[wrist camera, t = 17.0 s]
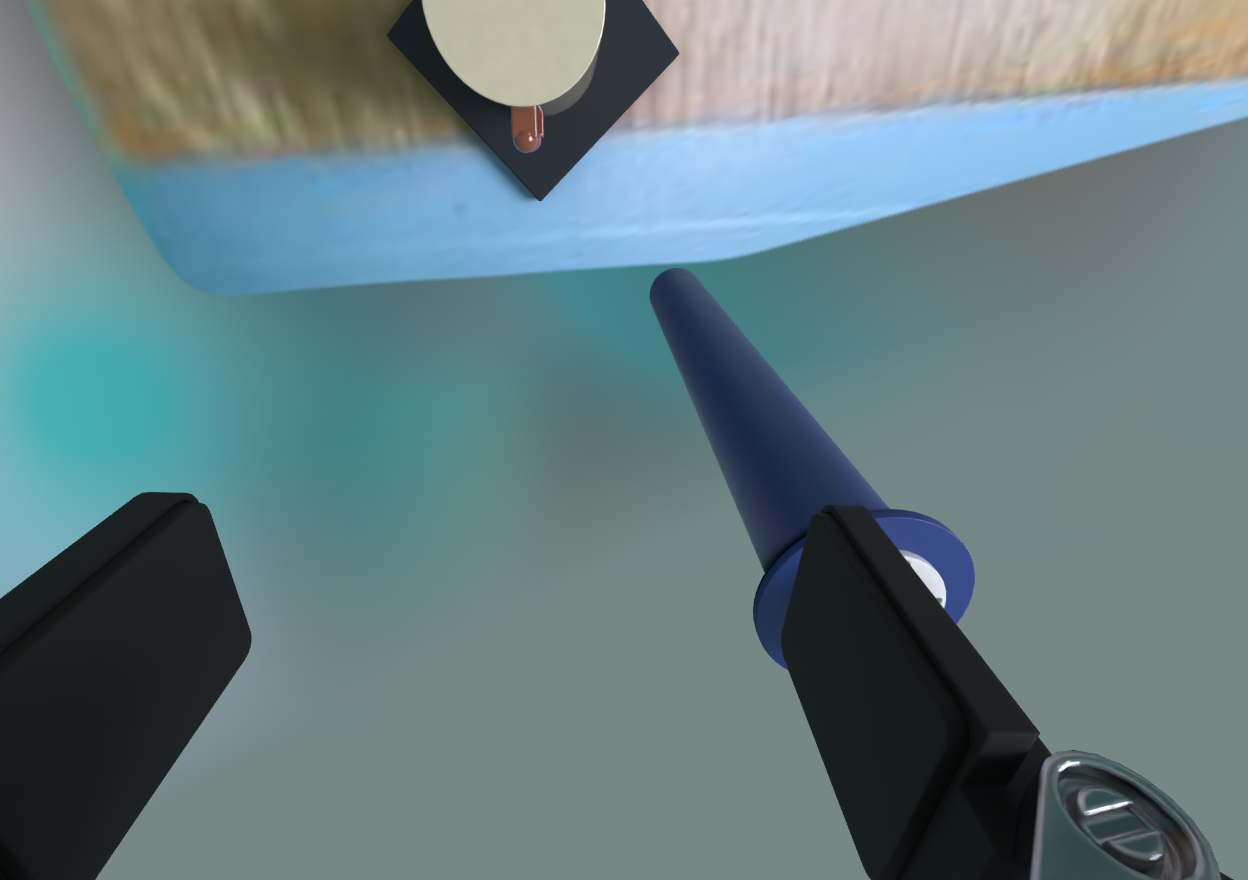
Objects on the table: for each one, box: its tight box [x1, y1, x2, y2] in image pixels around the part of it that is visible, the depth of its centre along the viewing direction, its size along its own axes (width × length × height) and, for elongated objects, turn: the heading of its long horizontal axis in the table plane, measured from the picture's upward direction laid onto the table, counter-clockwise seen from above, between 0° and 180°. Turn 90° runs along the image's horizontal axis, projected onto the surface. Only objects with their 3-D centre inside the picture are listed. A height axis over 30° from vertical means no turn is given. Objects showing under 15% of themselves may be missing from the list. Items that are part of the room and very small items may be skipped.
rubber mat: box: [387, 0, 679, 201], centre depth 27 cm, size 10×10×1 cm
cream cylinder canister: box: [422, 0, 606, 153], centre depth 23 cm, size 8×6×10 cm
